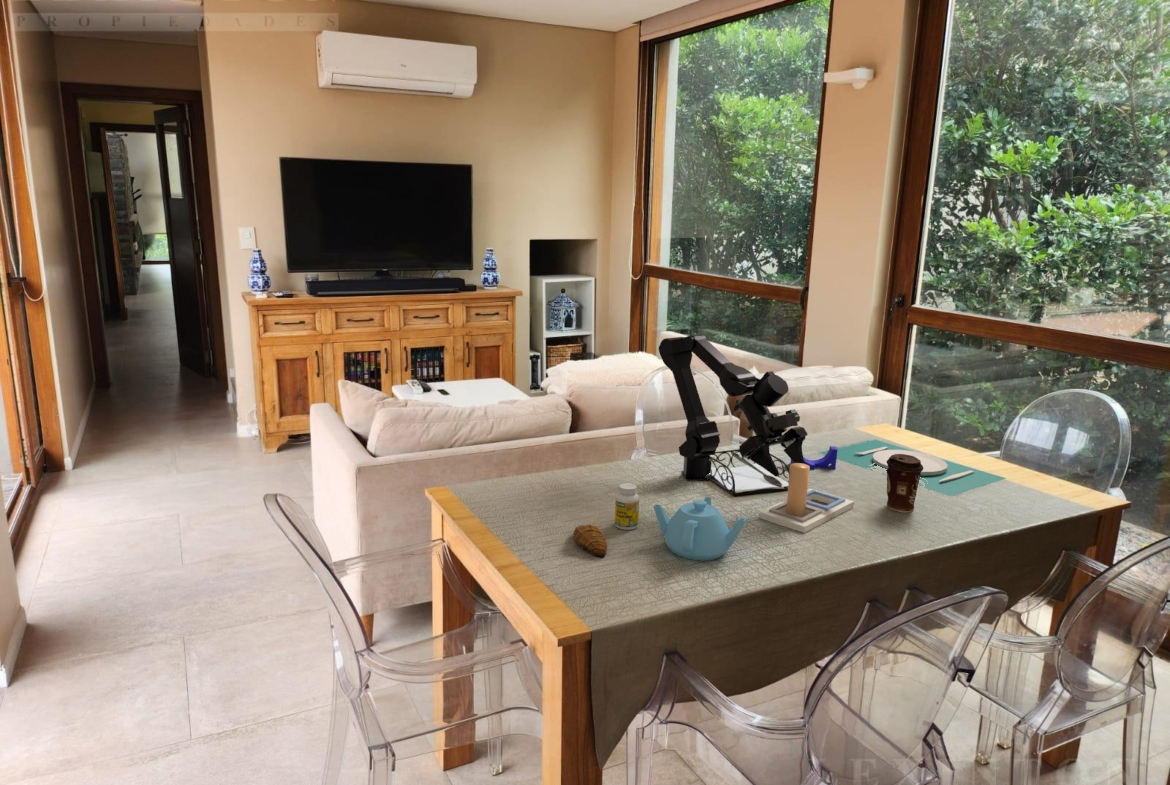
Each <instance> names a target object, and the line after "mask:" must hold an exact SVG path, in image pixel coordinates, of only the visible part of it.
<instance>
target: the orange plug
mask: <svg viewBox="0 0 1170 785" xmlns="http://www.w3.org/2000/svg"><path fill="white" fill-rule="evenodd" d="M810 470H811V469H810V466H808V465H806V464H802V463H793V464H791V463H790V465H789V477H788V485H787V486H788V487H787V497H786V499H787V506H786V512H785V513H788V514H791V515H794V516H797V517H800V518H802V517H804V516H806V515H805V510H806V500H807V490H808V489H809V481H810V480H809V477H810Z"/></svg>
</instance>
